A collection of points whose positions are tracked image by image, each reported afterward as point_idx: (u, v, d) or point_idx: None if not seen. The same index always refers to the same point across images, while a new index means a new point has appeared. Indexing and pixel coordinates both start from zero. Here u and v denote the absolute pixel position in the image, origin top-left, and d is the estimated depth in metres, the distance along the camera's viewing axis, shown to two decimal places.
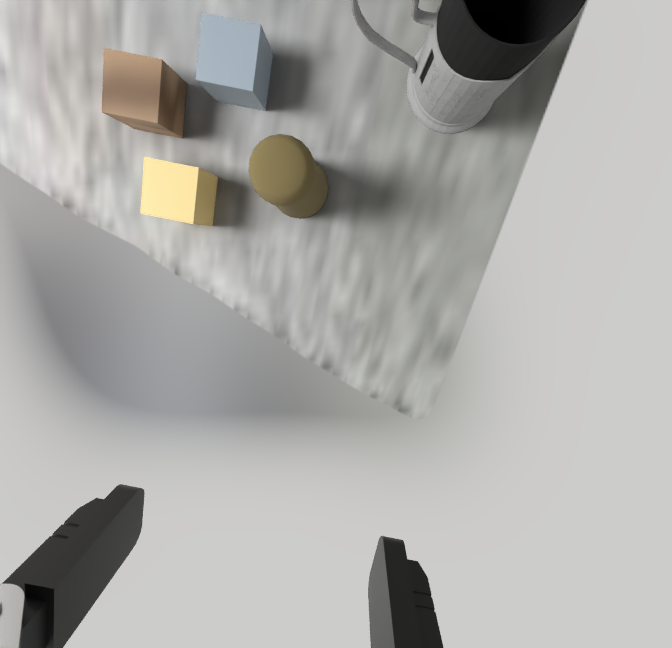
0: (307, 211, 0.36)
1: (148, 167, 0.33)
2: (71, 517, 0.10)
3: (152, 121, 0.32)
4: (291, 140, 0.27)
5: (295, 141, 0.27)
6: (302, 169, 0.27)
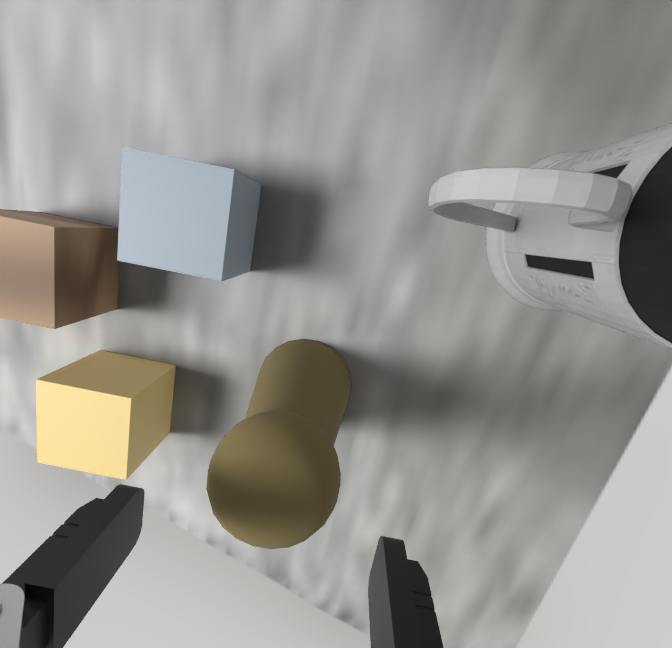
0: None
1: (45, 396, 0.19)
2: (71, 516, 0.10)
3: (45, 325, 0.18)
4: (292, 454, 0.13)
5: (300, 454, 0.13)
6: (315, 509, 0.13)
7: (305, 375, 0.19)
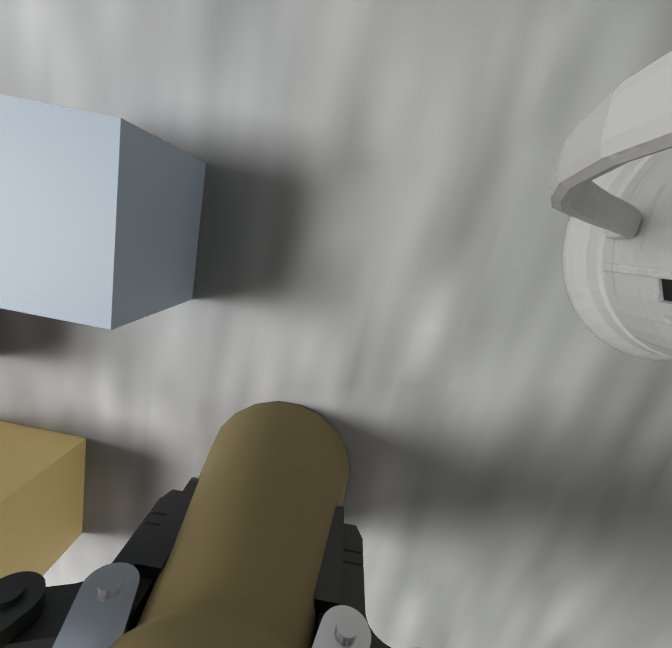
0: None
1: None
2: (155, 506, 0.11)
3: None
4: None
5: None
6: None
7: (270, 486, 0.11)
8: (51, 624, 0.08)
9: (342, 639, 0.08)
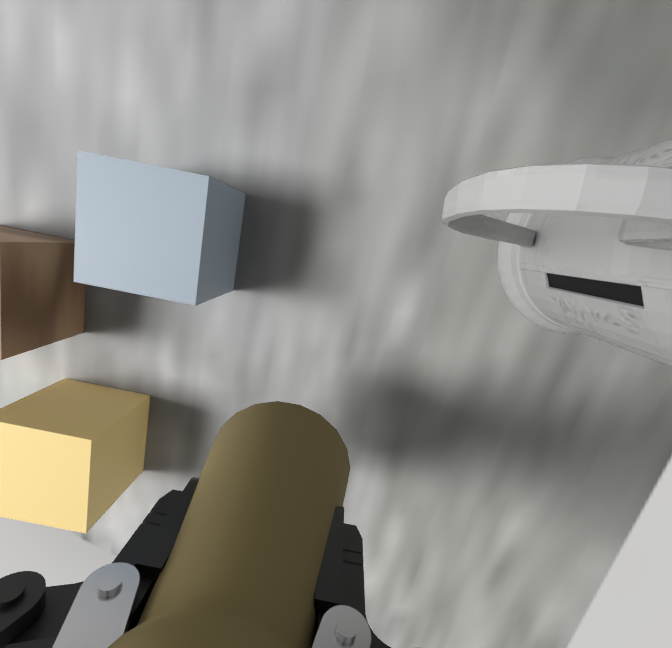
0: None
1: None
2: (155, 506, 0.11)
3: None
4: None
5: None
6: None
7: (270, 486, 0.11)
8: (51, 624, 0.08)
9: (342, 639, 0.08)
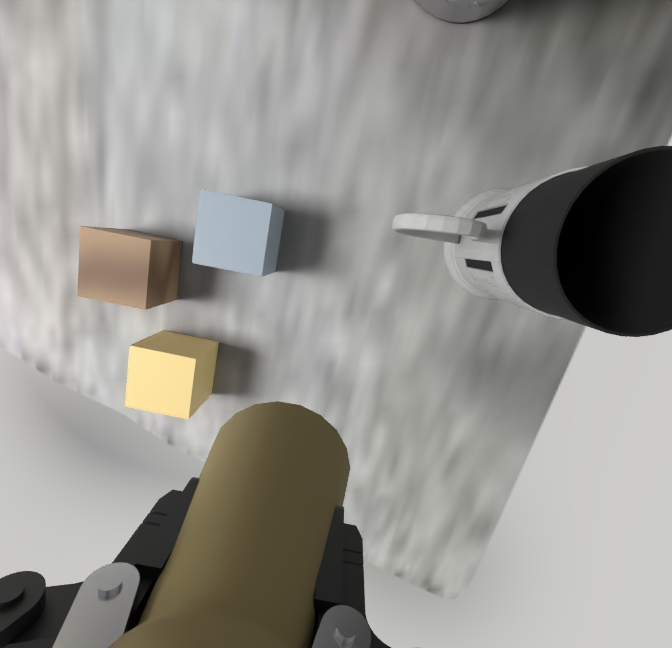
0: None
1: (135, 357, 0.27)
2: (155, 506, 0.11)
3: (139, 307, 0.26)
4: None
5: None
6: None
7: (270, 486, 0.11)
8: (51, 624, 0.08)
9: (342, 639, 0.08)
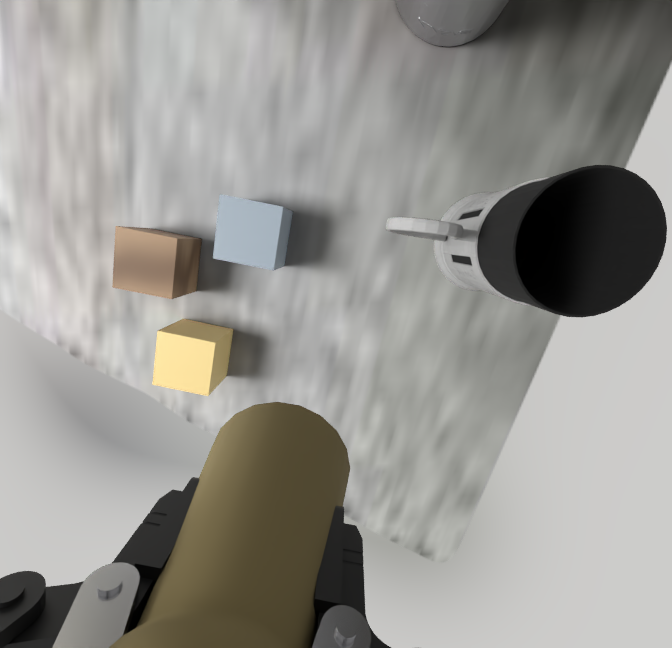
0: None
1: (161, 341, 0.31)
2: (155, 506, 0.11)
3: (166, 297, 0.30)
4: None
5: None
6: None
7: (270, 487, 0.11)
8: (51, 624, 0.08)
9: (342, 639, 0.08)
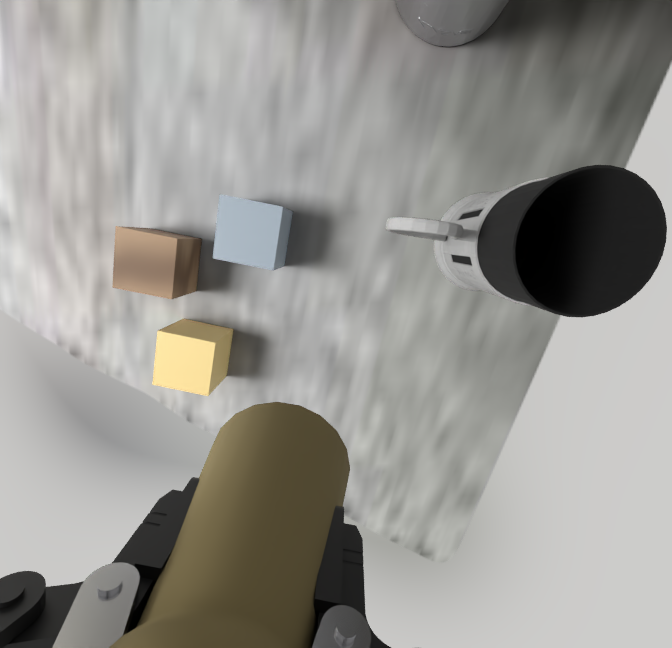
0: None
1: (162, 341, 0.31)
2: (155, 506, 0.11)
3: (166, 297, 0.30)
4: None
5: None
6: None
7: (270, 487, 0.11)
8: (51, 624, 0.08)
9: (342, 639, 0.08)
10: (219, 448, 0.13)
